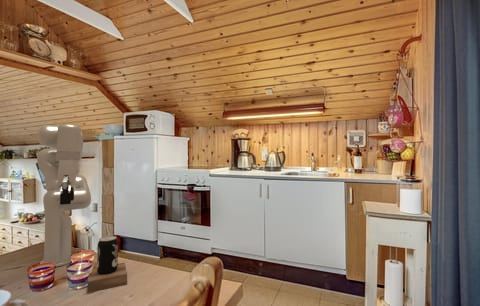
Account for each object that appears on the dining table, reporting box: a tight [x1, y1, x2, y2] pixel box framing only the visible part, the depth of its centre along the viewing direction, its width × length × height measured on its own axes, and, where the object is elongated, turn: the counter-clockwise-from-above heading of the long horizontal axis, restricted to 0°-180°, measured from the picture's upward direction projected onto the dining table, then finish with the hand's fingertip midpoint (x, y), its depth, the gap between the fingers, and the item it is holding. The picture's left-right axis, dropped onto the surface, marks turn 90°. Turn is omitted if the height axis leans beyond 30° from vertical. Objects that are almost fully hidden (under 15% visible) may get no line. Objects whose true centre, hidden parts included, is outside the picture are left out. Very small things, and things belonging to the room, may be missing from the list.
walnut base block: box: [86, 262, 128, 294], centre depth 90 cm, size 12×12×4 cm
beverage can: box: [96, 235, 119, 274], centre depth 90 cm, size 7×7×12 cm
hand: (67, 202), depth 93 cm, fingers open, 9 cm apart
